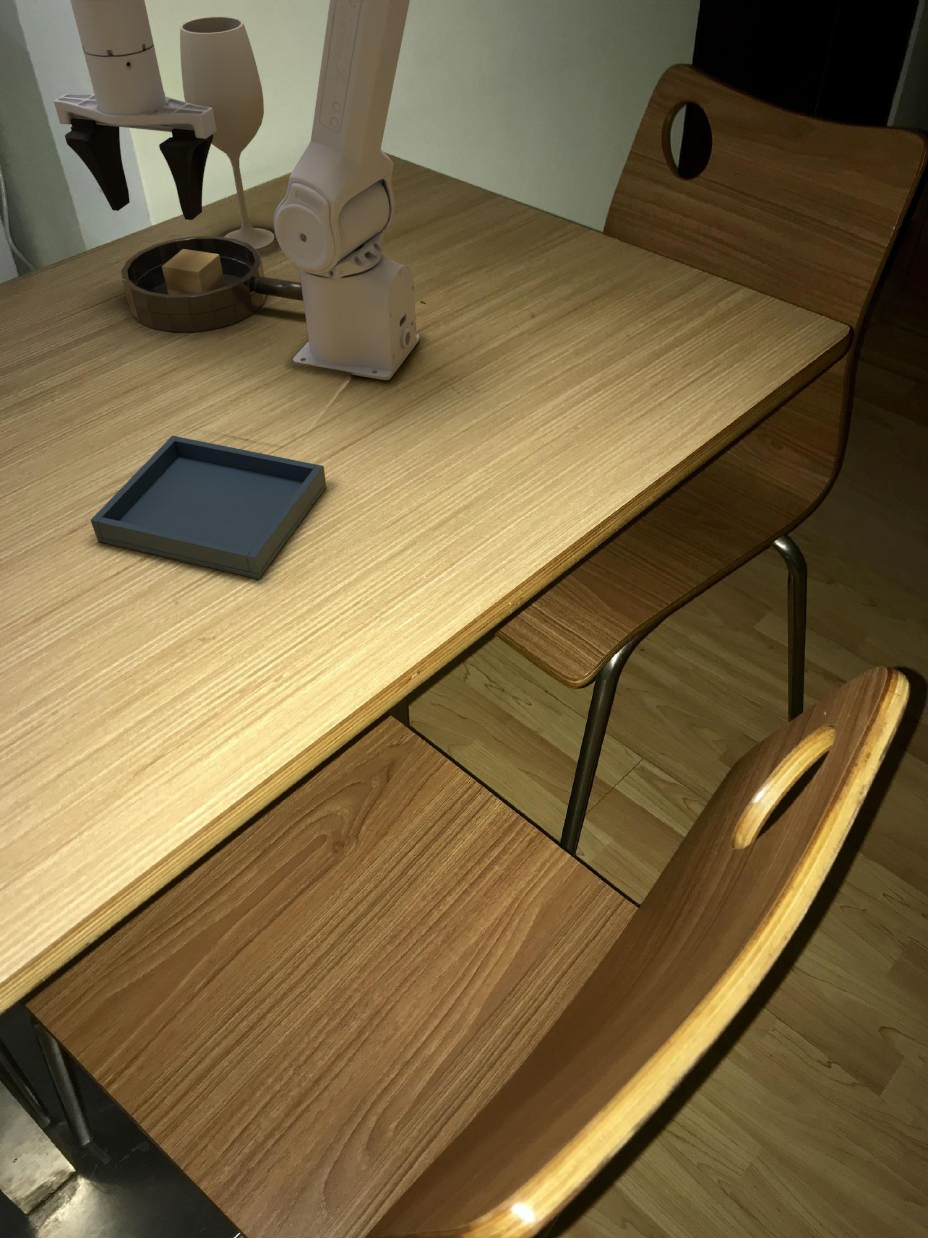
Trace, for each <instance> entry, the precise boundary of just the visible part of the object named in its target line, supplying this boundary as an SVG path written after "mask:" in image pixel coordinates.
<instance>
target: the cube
mask: <svg viewBox="0 0 928 1238" xmlns="http://www.w3.org/2000/svg"><path fill="white" fill-rule="evenodd" d="M162 269H163V274H164V278H165V282H166V286H167V290H168V295H189V294H195V293H202V292H209V291H212V290H216V289H219V288H222V287H225V282H224V277H223V272H222V267H221V262H220V256H219V254H214V253H207V252H200V251H193V250H187V249H183V250H181V251H180V252H179V253H178V254H176V255H175V256H174V257H173V258H172V259H170V260H169V261H168V262H167V263H165V264H164V265H163V266H162Z"/></svg>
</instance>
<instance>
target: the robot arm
mask: <svg viewBox="0 0 928 1238" xmlns="http://www.w3.org/2000/svg"><path fill="white" fill-rule="evenodd" d="M410 1H411V0H329V5H328V13H327V20H326V26H325V34H324V40H323V47H322V55H321V63H320V70H319V76H318V77H319V78H318V83H317V84H318V85H317V92H316V99H315V107H314V113H313V119H312V120H313V122H312V128H311V135H310V141H309V143H308V145H307V147H306V149H305V150H304V152H303V153H302V154H301V156H300V157H299V160H298V161H297V162H296V165H295V166H294V167H293V169H292V171H291V173H290V174H289V178H288V184H287V190H286V193H285V196H284V197H283V198H282V199H281V201H280V202H279V204H278V205H277V207H276V209H275V211H274V215H273V231H274V236H275V238H276V241H277V243H278V246H279V247H280V249H281V251H282V253H283V254H284V256H285V257H286V258H287V259H288V260H289V262H291V263H292V264H293V266H294V267H293V268H294V269H295V270H296V271H299V278H300V283H301V286H302V294H303V301H302V302H303V307H304V315H305V322H306V328H307V329H306V330H307V336H308V341H307V342H306V343H305V344H304V345H303V347H302V348H301V349H300V350H299V351H298V352H297V353H296V354H295V355H294V357H293V358H292V362H293V363H296V364H301V365H306V366H313V367H318V368H323V369H329V370H335V371H341V372H348V373H350V375H351V376H358V377H364V378H370V379H374V380H375V379H376V380H381V381H389V380H391V379H392V378H393V376H394V375H395V373H396V372H397V371H398V370H399V368H400V367H401V365H402V364H403V363H404V361H405V360H406V359H407V357H408V356H409V354H410V353H411V352H412V351H413V349H414V348H415V346H417V344H418V343H419V341H420V334H418V333H417V319H416V299H415V284H414V283H415V282H414V277H413V273H412V270H411V268H410V267H409V266H408V265H406V264H403V263H400V262H396V261H394V260H393V259H391V258H389V257H387V256H386V255H385V254H384V253H383V251H382V250H383V249H382V248H383V247H384V246H385V241H384V240H385V239H384V231H386V230H387V229H388V228H389V226H390V225H391V224H392V222H393V219H394V216H395V211H396V203H395V197H394V192H393V185H392V176H393V171H394V166H395V164H394V161H393V160H392V159H391V158H390V156H388V154H387V153H386V152H384V150H382V145H383V139H384V135H385V129H386V125H387V120H388V114H389V109H390V103H391V98H392V94H393V88H394V83H395V78H396V73H397V68H398V63H399V57H400V52H401V48H402V42H403V39H404V38H403V37H404V32H405V26H406V22H407V16H408V12H409V6H410ZM70 5H71V9H72V12H73V13H72V14H73V17H74V20H75V25H76V28H77V32H78V37H79V39H80V45H81V47H82V48H81V49H82V51H83V55H84V59H85V63H86V66H87V71H88V74H89V78H90V83H91V86H92V90H93V93H89V94H88V93H86V94H85V93H84V94H83V93H82V94H79V93H78V94H77V93H75V94H74V93H64V94H63V95H61V96H59V97H57V98H56V99H54V100H53V104H54V107H55V108H54V109H55V110H56V114H57V118H58V122H59V124H61V125H71V126H70V131H68V132H67V133H65V135H64V139H65V142H66V145H67V146H68V147H69V148H70V149H71V150H72V151H73V152H74V153H75V154H76V155H77V156H78V157H79V158H80V160H81V161H82V162H83V163H84V165H85V166H86V168H87V169H88V170H89V172H90V173H91V175H92V176H93V178H94V179H95V181H96V183H97V184H98V186H99V188H100V189H101V191H102V193H103V195H104V197H105V199H106V201H107V203H108V204H109V207H110V208H111V210H112V211H115V212H119V211H120V210H122V209H123V208H125V207H126V206H127V205H129V204H130V202H131V200H130V191H129V186H128V182H127V178H126V173H125V169H124V165H123V159H122V150H121V149H122V148H121V137H120V136H121V135H120V128H127V129H136V130H137V129H138V130H147V131H155V132H156V131H158V132H165V133H166V132H167V133H171V136H170V137H168V138H167V139H165V140H163V141H162V142H160V143H159V145H158V148H159V150H160V152H161V154H162V156H163V159H164V160H165V162H166V164H167V166H168V169H169V171H170V173H171V176H172V179H173V181H174V185H175V189H176V192H177V197H178V201H179V206H180V210H181V213H182V216H183V219H184V220H188V221H193V220H194V219H195V218H197V217H198V216H199V215H201V214H202V213H203V188H204V176H205V172H206V171H205V170H206V166H207V165H206V163H207V162H208V157H209V153H210V149H211V146H212V144H211V143H212V140H213V133H215V132H216V131H217V130H216V124H215V119H214V113H213V108H211V107H203V106H198V105H194V104H190V103H187V102H185V101H183V100H179V99H176V98H172V97H169V96H166V94H165V93H166V92H165V91H164V86H163V81H162V77H161V71H160V68H159V62H158V58H157V53H156V48H155V44H154V38H153V34H152V30H151V29H152V28H151V24H150V19H149V16H148V15H149V14H148V10H147V5H146V1H145V0H70Z"/></svg>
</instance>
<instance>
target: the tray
mask: <svg viewBox="0 0 928 1238" xmlns="http://www.w3.org/2000/svg"><path fill="white" fill-rule="evenodd" d="M325 473H326V472H325V466H324V465H321V464H316V463H311V462H306V461H302V460H296V459H291V458H286V457H281V456H278V455H277V456H276V455H271V454H266V453H262V452H256V451H251V450H247V449H242V448H236V447H233V446H232V447H231V446H226V445H221V444H217V443H211V442H208V441H207V442H206V441H201V440H197V439H191V438H186V437H181V436H177V435H171V436H170V437H169V438H168V439H167V440H166V441H165V442H164V443H163V444H162V445H161V446H160V447H159V449H158V450H157V451H155V452H154V453H153V454H152V456H151V457H150V458H149V459H148V460H147V461H146V462H145V463H144V464H143V465H142V466H141V467H140V468H139V469H138V470H137V471H136V472H135V473H134V474H133V475H132V476H131V478H129V480H128V481H127V482H126V483H124V485H123V486H122V487H120V489H119V490H118V491H117V492H115V494H114V495H113V496H112V497H111V498H110V499H109V500H108V501H107V502H105V503H106V504H104V506H102V508H100V509H99V511H97V513H96V514H95V515H94V516H93V517H92V518H91V519H90V524H91V526H92V529H93V532H94V534H95V536H96V539H97V542H100V543H104V544H109V545H112V546H117V547H121V548H125V549H129V550H133V551H138V552H143V553H145V554H146V553H147V554H151V555H155V556H158V557H164V558H168V559H172V560H176V561H182V562H184V563H189V564H193V565H197V566H202V567H205V568H210V569H214V570H219V571H223V572H226V573H231V574H236V575H239V576H244V577H248V578H252V579H257V580H260V579H261V578H262V577H263V574H264V573H265V572H266V571H267V569H268V568H269V566H271V564H272V562H274V559H275V558H276V556H277V555H278V554H279V553H280V551H281V550H282V548H283V547H284V546H285V545H286V544H287V542H288V540H289V539H290V537H291V536H292V535H293V533H294V532H295V530H296V529H297V528H298V527H299V525H300V524H301V522H302V521H303V520H304V519H305V517H306V516H307V514H308V513H309V512H310V510H311V509H312V507H313V506H314V505H315V503H316V502H317V500H318V499H319V498H320V496H321V495H322V494H323V493H324V491H325V490H326V488H327V479H326V474H325Z"/></svg>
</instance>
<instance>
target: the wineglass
mask: <svg viewBox="0 0 928 1238" xmlns="http://www.w3.org/2000/svg"><path fill="white" fill-rule="evenodd" d="M251 44H252V43H251V41H250V37H249V35H248V32H247V29H246V26H245V24H244V22H243V20H242V19H240V18H236V17H232V16H206V17H204V16H203V17H198V18H194V19H190V20H188V21H184V22H183V23H181V24H180V26H179V51H180V53H179V54H180V69H181V82H182V83H181V84H182V91H183V98H184V102H187V103H190V104H194V105H198V106H203V107H211V108H213V113H214V119H215V124H216V130H217V131H216V132H215V133H213V140H212V143H211V146H214V147H215V148H216V149H218V150H219V151H221V152H222V153H224V154H225V155H226V156H227V157H228V159H229V161H230V162H229V163H230V165H231V167H232V173H233V179H234V184H235V185H234V186H235V190H236V195H237V196H236V197H237V202H238V208H239V213H240V214H239V215H240V222H241V226H240V228H239V229H236V230H232V231H230V232H228V233H226V234H225V235H224V236H223V237H226V238H233V239H237V240H239V241H242V242H245V243H248V244H250V245H251V246H252V247H254V248H255V249H256V250H257V249H261V248H264V247H266V246H268V245H270V244H271V243H272V242H274V239H275V234H274V233H273V232H272V231H271V230H268V229H265V228H260V227H259V228H258V227H253V225H252V224H251V223H250V220H249V217H248V216H249V215H248V210H247V203H246V198H245V192H244V184H243V179H242V172H241V167H240V166H241V165H240V157H241V154H242V152H243V151H244V150H245V149H246V148H247V147H248V145H249V144H250V143H251V142H252V141H253V139H254V138H255V137H256V136H257V133H258V132H259V129H260V128H261V127H262V124H263V119H264V115H265V106H264V93H263V87H262V82H261V77H260V74H259V70H258V65H257V63H256V62H257V61H256V58H255V54H254V51H253V48H252V45H251Z"/></svg>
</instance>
